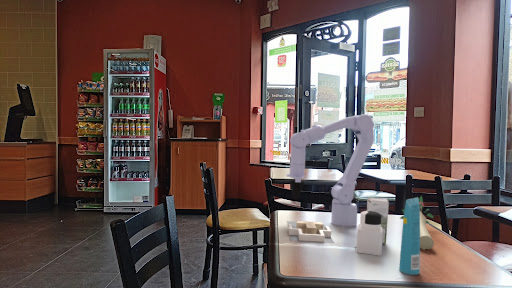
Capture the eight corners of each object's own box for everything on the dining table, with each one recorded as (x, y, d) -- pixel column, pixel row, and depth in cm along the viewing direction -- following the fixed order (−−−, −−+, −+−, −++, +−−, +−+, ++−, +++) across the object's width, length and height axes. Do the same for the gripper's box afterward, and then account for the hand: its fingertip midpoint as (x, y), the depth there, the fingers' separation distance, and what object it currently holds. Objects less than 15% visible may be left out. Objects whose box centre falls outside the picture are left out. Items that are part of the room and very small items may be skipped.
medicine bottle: (381, 249, 113) (383, 211, 112) (381, 256, 106) (383, 215, 106) (357, 246, 115) (359, 208, 115) (356, 252, 108) (358, 212, 108)
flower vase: (411, 269, 117) (401, 222, 150) (452, 264, 113) (433, 217, 146) (402, 236, 116) (394, 196, 148) (444, 230, 112) (426, 190, 144)
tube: (404, 265, 98) (408, 195, 98) (423, 270, 95) (427, 198, 95) (394, 273, 93) (398, 198, 92) (414, 278, 90) (418, 201, 89)
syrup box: (382, 239, 124) (384, 197, 123) (386, 244, 118) (388, 200, 118) (365, 238, 124) (367, 196, 124) (368, 243, 118) (370, 199, 118)
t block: (321, 232, 127) (322, 222, 127) (325, 239, 118) (325, 228, 118) (296, 230, 127) (296, 220, 127) (297, 237, 118) (298, 227, 118)
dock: (327, 231, 128) (328, 226, 128) (334, 242, 115) (334, 236, 115) (288, 229, 129) (288, 223, 128) (289, 239, 116) (290, 233, 116)
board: (323, 225, 140) (323, 223, 140) (334, 245, 114) (334, 242, 114) (286, 223, 141) (287, 221, 141) (289, 242, 115) (290, 240, 115)
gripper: (286, 161, 147) (285, 195, 148) (287, 164, 133) (286, 201, 133) (303, 162, 147) (302, 195, 147) (307, 165, 132) (305, 202, 133)
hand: (295, 198), depth 140 cm, fingers closed
